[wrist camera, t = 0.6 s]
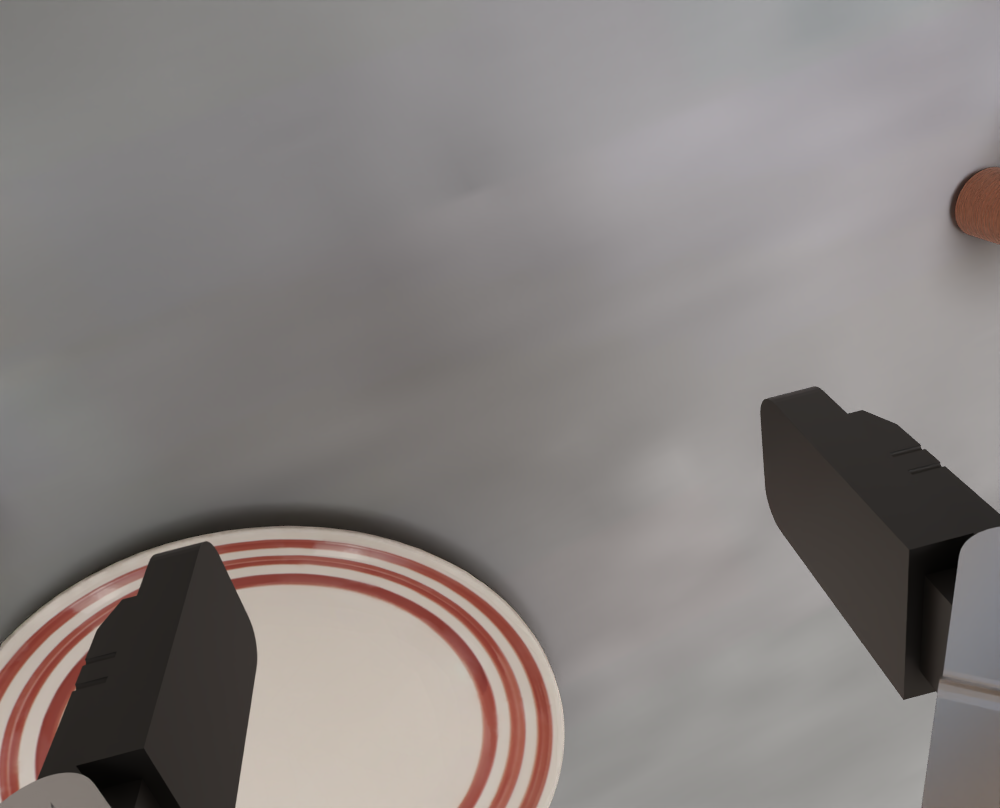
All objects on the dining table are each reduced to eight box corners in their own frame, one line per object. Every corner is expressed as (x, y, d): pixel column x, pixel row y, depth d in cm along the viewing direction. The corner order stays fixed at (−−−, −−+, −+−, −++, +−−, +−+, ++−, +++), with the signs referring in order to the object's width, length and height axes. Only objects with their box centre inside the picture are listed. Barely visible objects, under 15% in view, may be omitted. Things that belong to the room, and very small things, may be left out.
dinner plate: (-154, 596, 34) (-197, 651, 31) (501, 428, 37) (518, 463, 34) (102, 990, 46) (88, 1057, 43) (580, 837, 49) (598, 889, 46)
